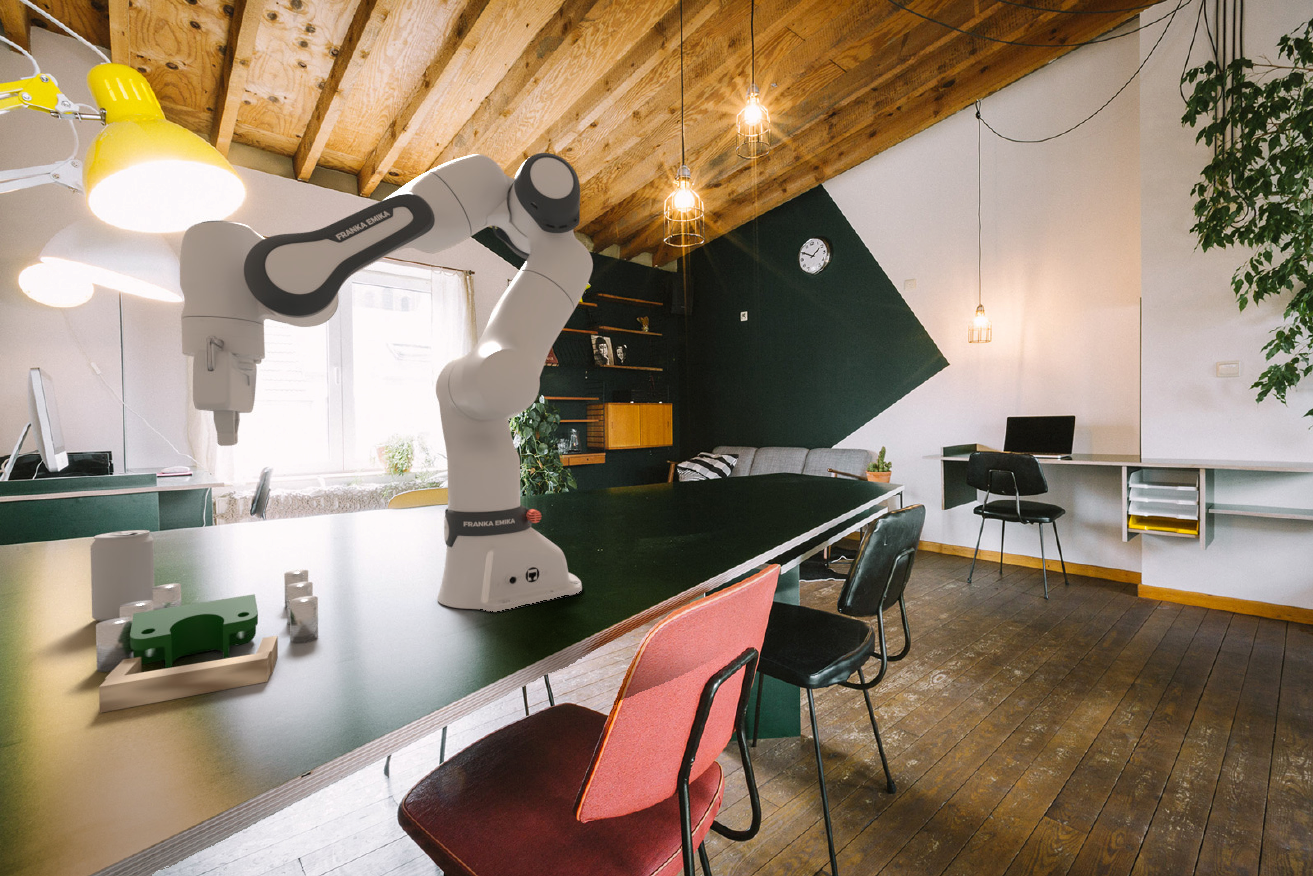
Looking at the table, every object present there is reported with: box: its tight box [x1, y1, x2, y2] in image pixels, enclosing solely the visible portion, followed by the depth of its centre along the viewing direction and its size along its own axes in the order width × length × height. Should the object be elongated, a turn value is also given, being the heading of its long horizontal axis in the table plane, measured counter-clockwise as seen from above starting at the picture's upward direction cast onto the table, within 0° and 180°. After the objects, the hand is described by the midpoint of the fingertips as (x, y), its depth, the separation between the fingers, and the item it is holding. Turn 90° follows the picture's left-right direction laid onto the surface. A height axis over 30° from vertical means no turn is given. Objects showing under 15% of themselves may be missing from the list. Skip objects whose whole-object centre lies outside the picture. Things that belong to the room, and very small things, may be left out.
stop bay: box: [98, 635, 279, 714], centre depth 58 cm, size 13×7×2 cm, turn 119°
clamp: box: [130, 593, 259, 669], centre depth 64 cm, size 12×6×9 cm, turn 124°
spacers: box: [95, 569, 319, 673], centre depth 72 cm, size 21×19×5 cm
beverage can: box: [90, 529, 155, 623], centre depth 77 cm, size 6×6×12 cm
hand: (227, 445), depth 74 cm, fingers closed
